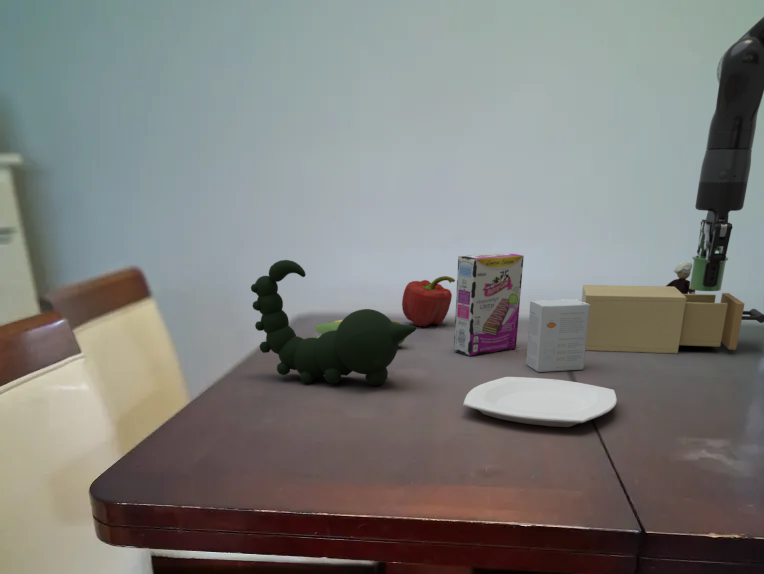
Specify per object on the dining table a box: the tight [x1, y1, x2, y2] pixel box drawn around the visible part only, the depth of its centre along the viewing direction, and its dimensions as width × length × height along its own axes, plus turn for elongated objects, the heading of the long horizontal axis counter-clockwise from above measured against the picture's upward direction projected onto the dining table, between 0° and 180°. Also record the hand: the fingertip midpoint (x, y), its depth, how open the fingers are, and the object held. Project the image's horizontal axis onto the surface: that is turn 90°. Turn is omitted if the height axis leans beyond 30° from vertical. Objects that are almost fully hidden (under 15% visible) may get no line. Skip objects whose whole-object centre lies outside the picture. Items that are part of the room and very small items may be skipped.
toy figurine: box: [250, 259, 417, 387], centre depth 111 cm, size 9×19×25 cm
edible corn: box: [313, 319, 408, 346], centre depth 139 cm, size 5×20×5 cm, turn 61°
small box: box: [525, 298, 590, 373], centre depth 120 cm, size 8×6×10 cm
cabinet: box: [581, 284, 686, 354], centre depth 136 cm, size 17×14×10 cm
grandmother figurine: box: [665, 260, 696, 294], centre depth 153 cm, size 8×4×13 cm, turn 46°
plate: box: [463, 376, 618, 428], centre depth 99 cm, size 19×19×2 cm
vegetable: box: [401, 275, 456, 327], centre depth 155 cm, size 11×10×10 cm
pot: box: [689, 255, 729, 292], centre depth 130 cm, size 6×6×5 cm
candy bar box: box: [453, 252, 525, 357], centre depth 130 cm, size 11×5×16 cm, turn 123°
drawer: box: [679, 292, 764, 350], centre depth 134 cm, size 20×12×8 cm, turn 78°
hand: (705, 283), depth 131 cm, fingers closed on pot, 5 cm apart
